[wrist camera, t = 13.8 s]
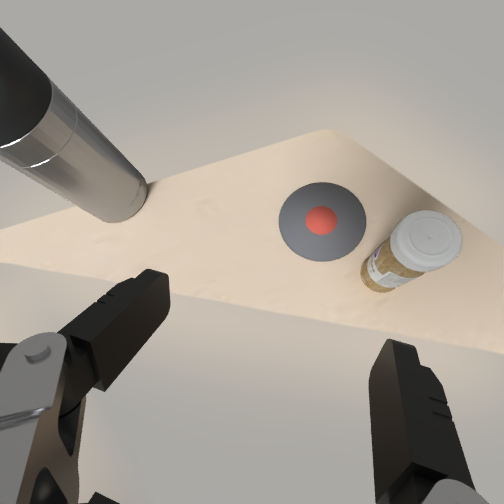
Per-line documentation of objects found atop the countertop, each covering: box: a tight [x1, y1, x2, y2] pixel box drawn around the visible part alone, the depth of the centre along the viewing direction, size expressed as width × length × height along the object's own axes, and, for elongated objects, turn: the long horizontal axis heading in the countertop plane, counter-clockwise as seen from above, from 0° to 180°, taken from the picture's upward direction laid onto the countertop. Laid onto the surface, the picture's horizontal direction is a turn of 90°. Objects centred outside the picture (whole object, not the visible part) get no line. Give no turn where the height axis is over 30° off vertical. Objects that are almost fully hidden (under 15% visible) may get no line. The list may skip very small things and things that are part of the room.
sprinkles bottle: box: [361, 210, 462, 293], centre depth 27 cm, size 5×5×14 cm
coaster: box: [279, 183, 366, 261], centre depth 36 cm, size 11×11×1 cm
